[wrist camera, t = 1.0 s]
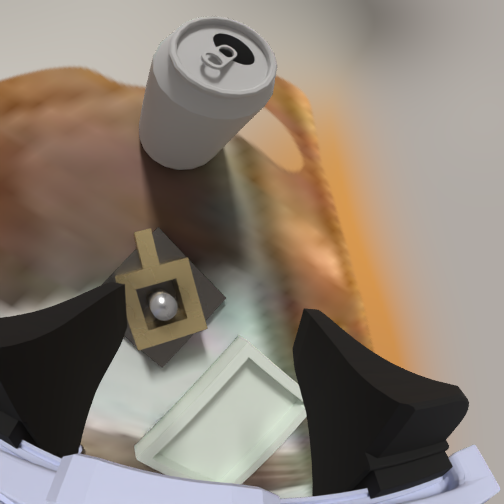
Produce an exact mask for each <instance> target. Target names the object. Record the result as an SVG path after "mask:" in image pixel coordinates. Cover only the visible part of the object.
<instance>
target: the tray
mask: <svg viewBox="0 0 504 504" xmlns="http://www.w3.org/2000/svg"><path fill="white" fill-rule="evenodd" d="M306 416H307V415H306V410H305V407H304V403H303V399H302V395H301V391H300V388H299V385H298V384H297V383H296V382H295V381H294V380H292V379H291V378H290V377H289V376H288V375H286V374H285V373H284V372H283V371H282V370H281V369H280V368H278V367H277V366H276V365H275V364H274V363H273V362H271V361H270V360H269V359H268V358H267V357H266V356H265V355H264V354H262V353H261V352H260V351H259V350H258V349H257V348H256V347H255V346H254V345H252V344H251V343H250V342H249V341H248V340H246V339H244V338H243V337H241V336H239V335H238V337H237V338H236V339H235V340H234V341H233V342H232V343H231V344H230V346H229V347H228V348H227V349H226V350H225V351H224V352H223V353H222V354H221V356H220V357H219V358H218V359H217V360H216V361H215V362H214V363H213V364H212V365H211V367H210V368H209V369H208V370H207V371H206V372H205V373H204V374H203V375H202V376H201V377H200V379H199V380H198V381H197V382H196V383H195V384H194V385H193V386H192V387H191V388H190V389H189V390H188V391H187V392H186V393H185V395H184V396H183V397H182V398H181V399H180V400H179V401H178V402H177V403H176V404H175V405H174V406H173V407H172V408H171V409H170V410H169V411H168V412H167V413H166V414H165V415H164V416H163V417H162V418H161V420H160V421H159V422H158V423H157V424H156V425H155V426H154V427H153V428H152V429H151V430H150V431H149V432H148V433H147V434H146V435H145V436H144V437H143V438H142V439H141V440H140V441H139V442H138V443H137V444H136V445H135V446H134V448H135V454H136V459H137V460H139V461H140V462H142V463H144V464H146V465H148V466H150V467H151V468H153V469H155V470H157V471H159V472H161V473H163V474H165V475H169V476H175V477H181V478H187V479H195V480H203V481H212V482H223V483H234V484H242V483H243V482H244V481H245V480H246V479H247V478H249V477H250V476H251V475H252V474H253V473H254V472H255V471H256V470H257V469H258V468H259V467H260V466H261V465H262V464H263V463H264V462H265V461H266V460H267V459H268V458H269V457H270V456H271V455H272V454H273V453H274V452H275V451H276V450H277V449H278V448H279V447H280V445H281V444H282V443H283V442H284V441H285V440H286V439H287V438H288V437H289V436H290V435H291V433H292V432H293V431H294V430H295V429H296V428H297V427H298V425H299V424H300V423H301V422H302V421H303V420H304V419H305V417H306Z"/></svg>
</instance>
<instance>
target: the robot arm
mask: <svg viewBox="0 0 504 504" xmlns="http://www.w3.org/2000/svg"><path fill="white" fill-rule="evenodd" d="M126 329H127V313H126V296H125V284H120V283H115V282H110V283H107V284H104V285H102V286H99V287H97V288H95V289H92V290H90V291H88V292H86V293H83V294H81V295H79V296H77V297H75V298H72V299H70V300H67V301H65V302H62V303H60V304H57V305H54V306H52V307H49V308H46V309H42V310H39V311H35V312H31V313H26V314H21V315H16V316H11V317H3V318H0V504H484V503H485V502H486V501H488V500H489V499H490V498H491V497H493V496H494V495H495V494H497V493H498V492H499V491H500V487H499V485H498V483H497V482H496V480H495V478H494V476H493V474H492V473H491V471H490V469H489V467H488V466H487V464H486V462H485V460H484V458H483V457H482V456H481V454H480V452H479V450H478V448H477V447H476V445H471V446H469V447H467V448H465V449H462V450H460V451H457V452H455V453H453V454H452V455H451V456H449V457H448V456H447V454H446V453H445V451H446V450H447V449H448V448H449V445H448V443H447V441H446V439H447V438H448V436H449V435H450V434H451V433H452V432H453V431H454V430H455V428H456V427H457V426H458V425H459V423H460V422H461V421H462V419H463V418H464V416H465V415H466V413H467V410H468V406H469V402H468V399H467V398H466V396H465V395H464V394H463V392H462V391H461V390H460V389H459V387H458V386H455V385H451V384H447V383H443V382H439V381H435V380H431V379H428V378H425V377H422V376H420V375H417V374H415V373H412V372H410V371H407V370H405V369H403V368H401V367H399V366H396V365H394V364H392V363H390V362H389V361H387V360H385V359H383V358H382V357H380V356H378V355H377V354H375V353H374V352H372V351H371V350H369V349H368V348H366V347H365V346H363V345H362V344H361V343H359V342H358V341H357V340H355V339H354V338H353V337H351V336H350V335H349V334H348V333H346V332H345V331H344V330H343V329H342V328H340V327H339V326H338V325H337V324H336V323H334V322H333V321H332V320H331V319H330V318H329V317H327V316H326V315H325V314H324V313H322V312H321V311H319V310H315V309H304V310H303V314H302V318H301V321H300V325H299V328H298V332H297V335H296V339H295V342H294V346H293V358H294V367H295V372H296V376H297V380H298V384H299V388H300V391H301V395H302V399H303V403H304V407H305V410H306V415H307V420H308V428H309V436H310V446H311V457H312V477H313V496H312V497H300V498H283V499H280V498H279V496H278V495H276V494H274V493H272V492H270V491H267V490H265V489H262V488H260V487H256V486H248V485H241V484H234V483H223V482H212V481H203V480H195V479H187V478H181V477H175V476H169V475H164V474H159V473H154V472H149V471H145V470H141V469H136V468H133V467H129V466H125V465H121V464H118V463H114V462H111V461H108V460H104V459H101V458H97V457H92V456H88V455H84V454H80V453H81V452H82V446H81V445H80V443H81V438H82V434H83V430H84V426H85V423H86V419H87V416H88V413H89V410H90V407H91V404H92V401H93V398H94V395H95V393H96V390H97V388H98V386H99V384H100V382H101V380H102V378H103V376H104V374H105V373H106V371H107V369H108V367H109V365H110V363H111V362H112V360H113V358H114V356H115V354H116V352H117V351H118V349H119V347H120V345H121V342H122V340H123V337H124V335H125V332H126Z"/></svg>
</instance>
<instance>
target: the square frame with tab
mask: <svg viewBox="0 0 504 504" xmlns="http://www.w3.org/2000/svg"><path fill="white" fill-rule="evenodd" d="M134 239H135V243H136V247H137V252H138V256H139V260H140V264H141V269H138V270H134V271H130V272H127V273H123V274H119V275H116V276H115V279H116V283H120V284H125V296H126V313H127V319H128V323H129V326H130V329H131V331H132V334H133V337H134V340H135V343H136V346H137V348H138V351H139V350H142V349H145V348H149V347H152V346H155V345H158V344H162V343H165V342H168V341H171V340H174V339H177V338H181V337H184V336H187V335H190V334H193V333H196V332H199V331H202V330H205V329H208V328H207V325H206V322H205V318H204V315H203V311H202V308H201V304H200V301H199V297H198V293H197V290H196V286H195V282H194V279H193V275H192V271H191V267H190V263H189V259H188V257H185V258H178V259H175V260H171V261H167V262H163V263H160V264H159V260H158V256H157V252H156V248H155V244H154V240H153V235H152V231H151V228H150V229H146V230H142V231H138V232H134ZM168 280H172V281H173V285H174V289H175V292H176V296H177V299H178V303H179V306H180V310H181V313H179V314H175V316H174V317H173V318H171V319H169V320H165V321H164V320H156V321H152V322H149V323H146V321H145V318H144V315H143V312H142V309H141V305H140V302H139V299H138V295H137V292H136V289H140V288H143V287H147V286H151V285H154V284H158V283H161V282H165V281H168Z"/></svg>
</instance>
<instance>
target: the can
mask: <svg viewBox="0 0 504 504" xmlns="http://www.w3.org/2000/svg"><path fill="white" fill-rule="evenodd" d="M276 70H277V63H276V58H275V54H274V52H273V51H272V49H271V47H270V46H269V44H268V42H267V41H266V40H265V39H264V38H263V37H262V36H261V35H259V33H258V32H257V31H255V30H253V29H252V28H250V27H249V26H247V25H245V24H243V23H241V22H238V21H235V20H232V19H229V18H223V17H217V16H210V17H198V18H196V19H193V20H190V21H187V22H185V23H184V24H183V25H181V26H180V27H179V28H177V29H176V30H175V31H174V32H172V33H171V34H170V35H169V36H168V37H166V38H165V39H164V40H162V41H161V42H160V44H159V46H158V48H157V50H156V52H155V54H154V56H153V60H152V64H151V68H150V72H149V76H148V81H147V85H146V90H145V95H144V100H143V105H142V110H141V116H140V122H139V138H140V141H141V143H142V146H143V148H144V150H145V151H146V152H147V153H148V155H149V156H150V157H151V158H152V159H153V160H155V161H156V162H158V163H160V164H161V165H163V166H165V167H169V168H173V169H177V170H184V169H194V168H196V167H199V166H202V165H204V164H206V163H207V162H208V161H209V160H211V159H212V158H213V157H214V156H215V155H216V154H217V153H218V152H219V151H220V150H221V149H222V148H223V147H224V146H225V145H226V144H227V143H228V142H229V141H230V140H231V139H232V138H233V137H234V136H235V135H236V134H237V133H238V132H239V131H240V129H242V128H243V127H244V126H245V124H247V123H248V122H249V121H250V120H251V119H252V118H253V117H254V116H255V115H256V114H257V113H258V112H259V111H260V110H261V109H262V108H263V107H264V106H265V105H266V103H267V102H268V100H269V99H270V97H271V96H272V94H273V88H274V83H275V76H276Z"/></svg>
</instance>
